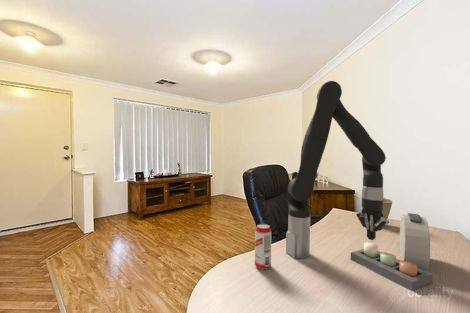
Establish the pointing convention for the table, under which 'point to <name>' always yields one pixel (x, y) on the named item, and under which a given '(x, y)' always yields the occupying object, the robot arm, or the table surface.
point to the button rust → (408, 268)
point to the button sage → (388, 259)
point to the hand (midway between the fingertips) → (371, 239)
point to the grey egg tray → (393, 271)
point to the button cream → (370, 250)
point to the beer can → (263, 246)
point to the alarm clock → (415, 240)
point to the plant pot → (386, 208)
